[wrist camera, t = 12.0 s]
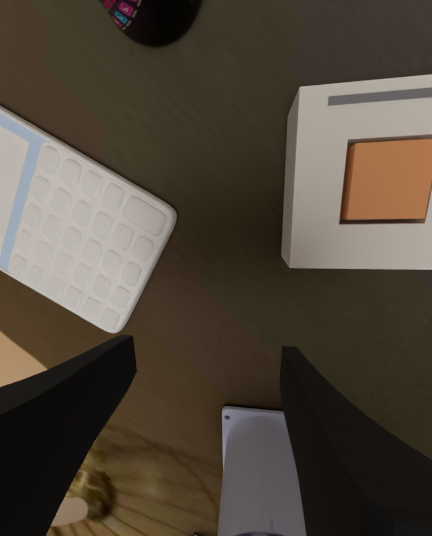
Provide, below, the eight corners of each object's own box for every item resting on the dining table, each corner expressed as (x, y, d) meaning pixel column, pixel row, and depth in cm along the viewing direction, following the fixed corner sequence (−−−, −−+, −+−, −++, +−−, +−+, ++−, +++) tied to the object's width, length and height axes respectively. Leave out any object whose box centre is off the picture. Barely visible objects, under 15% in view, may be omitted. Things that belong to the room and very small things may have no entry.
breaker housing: (418, 256, 17) (469, 270, 13) (281, 255, 19) (289, 268, 15) (448, 103, 15) (521, 65, 11) (287, 115, 16) (300, 85, 12)
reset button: (393, 216, 15) (424, 218, 13) (330, 217, 16) (347, 219, 13) (404, 151, 14) (440, 138, 12) (336, 154, 15) (355, 143, 12)
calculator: (125, 330, 23) (114, 341, 21) (-49, 230, 23) (-75, 231, 21) (184, 211, 19) (177, 212, 18) (-23, 90, 19) (-52, 78, 17)
